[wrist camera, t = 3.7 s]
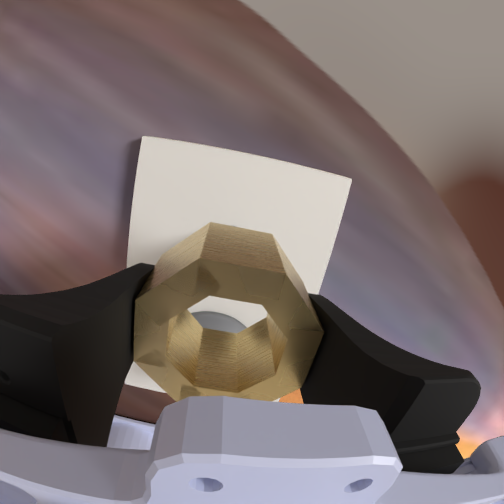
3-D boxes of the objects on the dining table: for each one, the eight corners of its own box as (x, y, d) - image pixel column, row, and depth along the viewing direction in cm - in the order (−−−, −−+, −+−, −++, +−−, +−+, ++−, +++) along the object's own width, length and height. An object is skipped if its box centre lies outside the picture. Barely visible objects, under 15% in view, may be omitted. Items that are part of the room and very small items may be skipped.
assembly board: (274, 399, 24) (282, 457, 19) (128, 375, 23) (107, 430, 17) (346, 177, 18) (389, 195, 13) (147, 135, 17) (108, 137, 12)
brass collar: (277, 358, 14) (288, 417, 10) (153, 337, 13) (133, 394, 10) (313, 242, 12) (342, 283, 8) (167, 213, 11) (139, 246, 8)
